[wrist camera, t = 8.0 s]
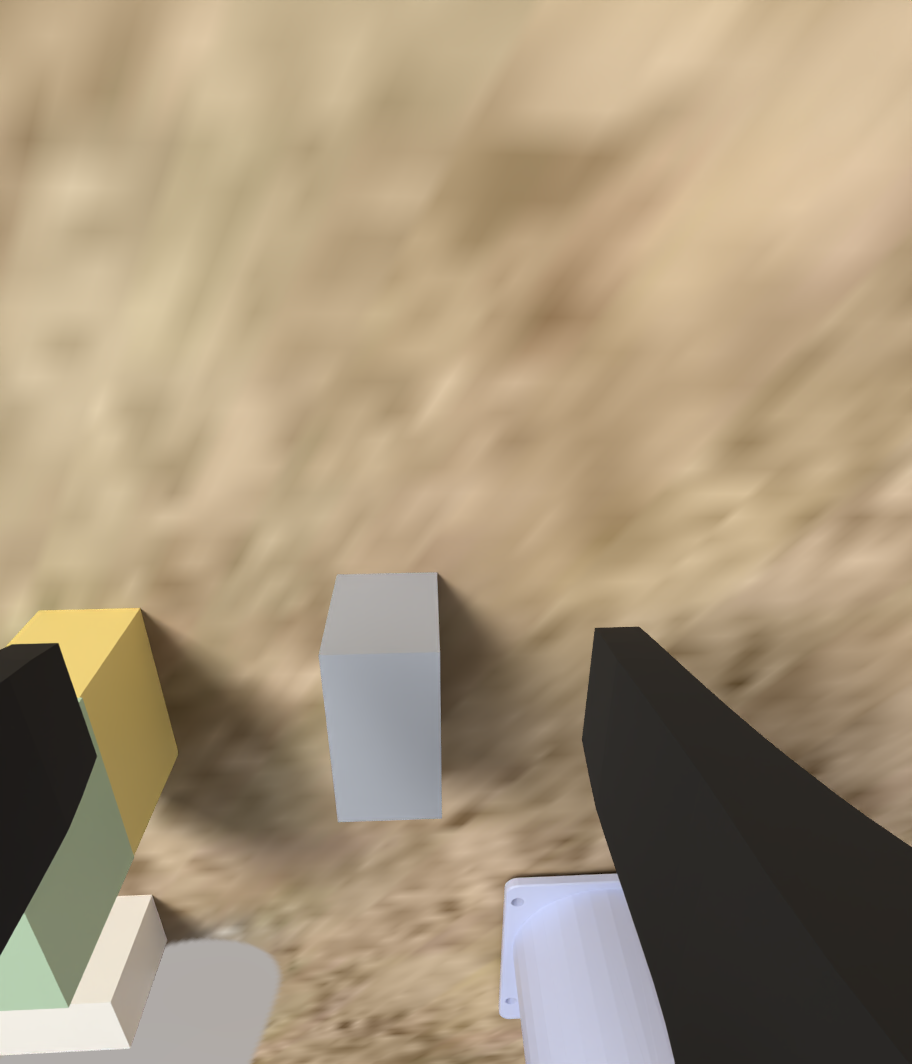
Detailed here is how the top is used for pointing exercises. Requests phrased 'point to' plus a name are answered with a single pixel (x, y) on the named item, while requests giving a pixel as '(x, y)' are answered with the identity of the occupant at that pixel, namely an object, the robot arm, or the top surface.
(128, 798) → the mustard brick
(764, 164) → the top surface
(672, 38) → the top surface
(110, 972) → the cream brick
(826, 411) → the top surface
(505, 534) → the top surface
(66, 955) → the green brick
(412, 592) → the grey brick
